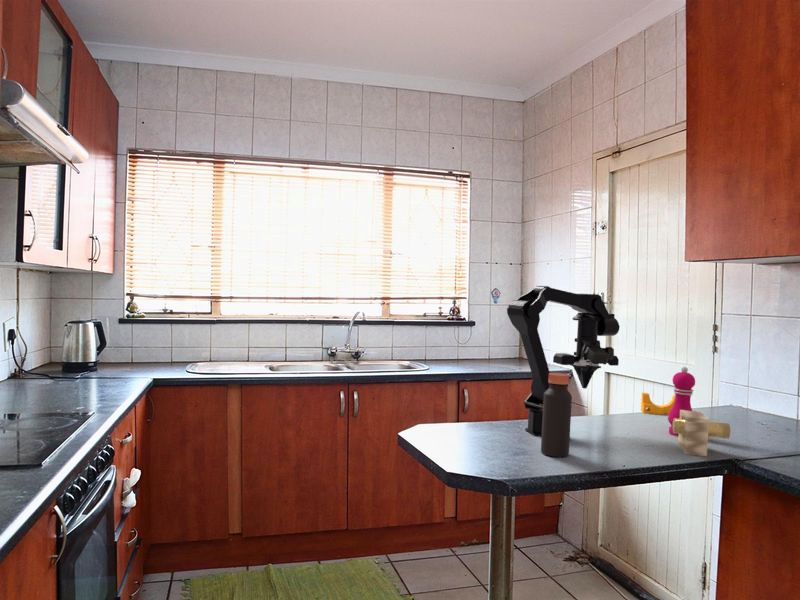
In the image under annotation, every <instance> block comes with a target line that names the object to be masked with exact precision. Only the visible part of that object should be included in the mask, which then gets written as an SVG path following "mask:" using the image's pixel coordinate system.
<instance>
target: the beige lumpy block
mask: <svg viewBox="0 0 800 600" xmlns="http://www.w3.org/2000/svg"><path fill="white" fill-rule="evenodd" d="M680 419H685V434H679V436H677V438H678V440H677V445H679V447H680V449H681V451H682V452H683V453H684V454H685V455H691V456H701V457H708V446H709V445H708V443H709V437H708V430H709V422H710V419H709V418H708V417H707V416H706V415H704V414H703V413H702V412H701V411H696V410H692V411H688V410H680Z"/></svg>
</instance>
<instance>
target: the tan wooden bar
mask: <svg viewBox="0 0 800 600" xmlns="http://www.w3.org/2000/svg"><path fill="white" fill-rule="evenodd" d="M673 433H677V434H685V419H679V418H674V419H673ZM730 437H731V426H730V423H727V422H718V421H709V430H708V438H715V439H716V438H717V439H723V440H725V439H727V440H729V439H730Z"/></svg>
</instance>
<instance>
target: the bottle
mask: <svg viewBox="0 0 800 600" xmlns="http://www.w3.org/2000/svg"><path fill="white" fill-rule="evenodd" d="M548 382H549V383H548V384H550V386H549V389H547V390H546V391H545V392H544V401H543V405H542V406H543V420H542V435H541V442H540V452H541V453H542V454H543V455H545V456H548V457H552V458H553V457H554V458H565V457H568V456H569V455H570V440H571V422H572V406H573V405H572V404H573V403H572V402H573V401H572V399H573V395H572V393H571V392H570V391H569V389H568V386H569V384H570V374H567V373H563V372H562V373H561V372H550V373H549V379H548Z"/></svg>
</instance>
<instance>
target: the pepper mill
mask: <svg viewBox="0 0 800 600" xmlns="http://www.w3.org/2000/svg"><path fill="white" fill-rule="evenodd" d="M688 371H689V370H688V368H687V367H686V366H683V367H681V369H680V372H679V371H678V372H676V373H674V375H673V377H672V384H673V385H674V388H673V393H674V395H675V402H674V405H673V407H672V409H671V410H670V412H669V414H667V415H668V416H667V421H668V423H669V424H670V426H668V433H669V434H670V435H672V436H675V437H676V436H677V437H678V436H679V434H677V433H673V419H674V418H679V419H680V410H688V411H693V408H692V405H691V398H692V395H694V394H693V387H694V386H696V379H695V377H694V375H693V374H692V373H689V372H688Z"/></svg>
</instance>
